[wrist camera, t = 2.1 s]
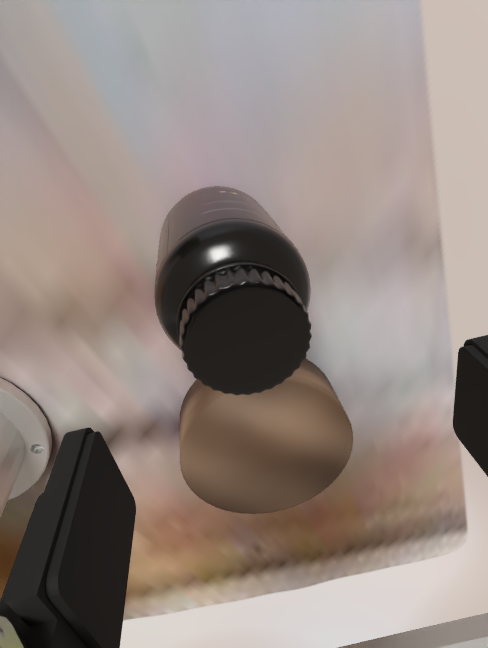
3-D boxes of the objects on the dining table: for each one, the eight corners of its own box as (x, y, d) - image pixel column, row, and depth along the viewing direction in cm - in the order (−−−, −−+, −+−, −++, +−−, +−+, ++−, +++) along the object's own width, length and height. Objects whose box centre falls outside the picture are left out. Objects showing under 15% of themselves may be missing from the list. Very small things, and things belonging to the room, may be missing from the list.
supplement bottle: (258, 300, 28) (306, 427, 17) (153, 284, 26) (136, 412, 16) (286, 195, 25) (366, 272, 14) (169, 170, 23) (161, 235, 13)
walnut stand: (266, 490, 37) (275, 532, 33) (147, 434, 32) (144, 476, 28) (365, 398, 33) (387, 434, 30) (249, 320, 28) (259, 352, 25)
